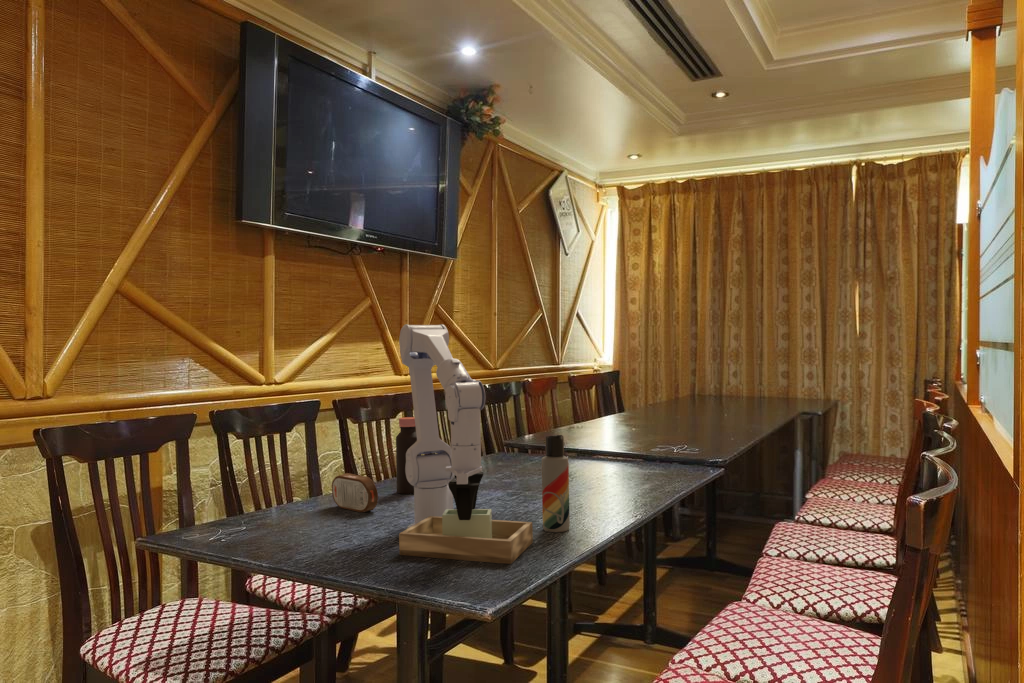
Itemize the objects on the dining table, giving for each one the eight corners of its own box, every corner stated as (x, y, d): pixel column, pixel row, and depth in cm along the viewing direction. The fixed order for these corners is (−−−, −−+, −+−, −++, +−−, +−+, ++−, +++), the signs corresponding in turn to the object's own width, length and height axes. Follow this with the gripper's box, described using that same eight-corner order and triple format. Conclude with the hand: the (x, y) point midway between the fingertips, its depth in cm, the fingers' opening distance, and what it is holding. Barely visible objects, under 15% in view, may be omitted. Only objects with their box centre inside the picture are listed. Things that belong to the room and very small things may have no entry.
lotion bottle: (550, 533, 143) (548, 436, 143) (538, 527, 148) (536, 433, 149) (574, 530, 145) (572, 434, 146) (561, 524, 151) (560, 432, 151)
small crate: (446, 540, 136) (445, 509, 136) (492, 539, 136) (491, 509, 136) (442, 547, 132) (442, 515, 132) (490, 546, 131) (489, 514, 131)
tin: (379, 512, 165) (378, 477, 165) (368, 515, 162) (368, 479, 163) (340, 504, 174) (339, 471, 174) (329, 507, 172) (329, 473, 172)
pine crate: (430, 535, 144) (430, 515, 144) (532, 542, 137) (532, 522, 137) (399, 554, 130) (399, 533, 130) (511, 563, 124) (510, 541, 124)
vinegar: (419, 488, 192) (418, 416, 193) (424, 493, 186) (422, 418, 186) (394, 490, 190) (393, 417, 190) (398, 495, 184) (397, 419, 184)
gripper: (450, 439, 141) (451, 506, 141) (439, 449, 127) (440, 524, 127) (485, 438, 141) (486, 505, 141) (478, 449, 126) (479, 524, 126)
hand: (467, 514), depth 134 cm, fingers open, 7 cm apart
